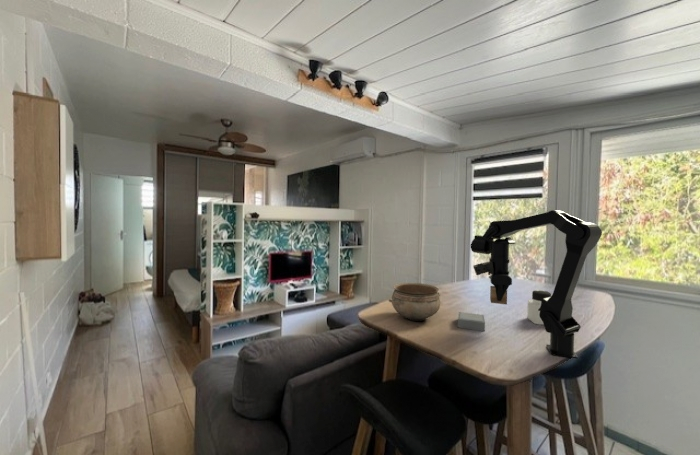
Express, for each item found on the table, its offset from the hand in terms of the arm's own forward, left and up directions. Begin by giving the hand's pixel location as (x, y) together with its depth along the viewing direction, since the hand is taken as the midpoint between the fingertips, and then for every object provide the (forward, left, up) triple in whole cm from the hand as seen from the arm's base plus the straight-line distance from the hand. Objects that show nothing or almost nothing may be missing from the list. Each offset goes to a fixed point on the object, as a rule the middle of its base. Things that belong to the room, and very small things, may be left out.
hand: (498, 298), depth 104 cm
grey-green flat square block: (0, +9, -11) cm, 14 cm away
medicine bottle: (+15, -16, -11) cm, 25 cm away
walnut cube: (0, 0, -1) cm, 1 cm away
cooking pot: (-1, +29, -11) cm, 31 cm away
